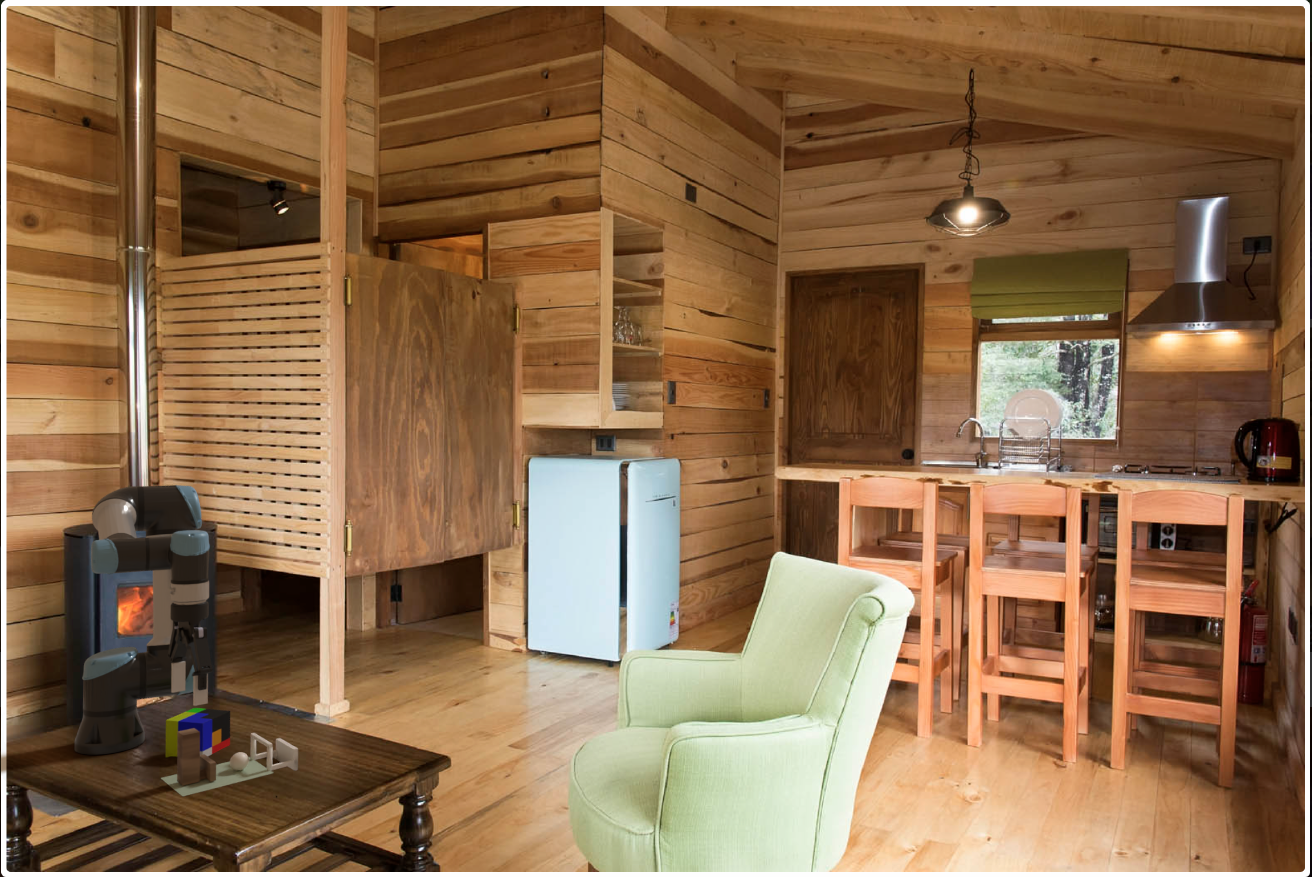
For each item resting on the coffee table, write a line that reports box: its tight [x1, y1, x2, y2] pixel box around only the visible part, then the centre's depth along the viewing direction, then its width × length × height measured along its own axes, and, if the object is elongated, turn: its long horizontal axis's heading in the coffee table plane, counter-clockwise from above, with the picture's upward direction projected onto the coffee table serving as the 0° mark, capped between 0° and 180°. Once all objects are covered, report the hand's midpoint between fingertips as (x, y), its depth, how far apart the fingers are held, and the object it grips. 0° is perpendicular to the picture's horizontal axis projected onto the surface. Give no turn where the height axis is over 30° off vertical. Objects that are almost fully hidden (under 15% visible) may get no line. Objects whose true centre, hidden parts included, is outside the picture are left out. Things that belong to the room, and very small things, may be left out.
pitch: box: [160, 732, 299, 797], centre depth 212 cm, size 14×26×8 cm, turn 135°
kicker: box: [176, 728, 217, 786], centre depth 206 cm, size 7×6×11 cm
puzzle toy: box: [165, 707, 231, 758], centre depth 226 cm, size 10×10×10 cm
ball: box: [229, 751, 249, 771], centre depth 213 cm, size 4×4×4 cm
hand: (189, 697), depth 205 cm, fingers open, 13 cm apart
